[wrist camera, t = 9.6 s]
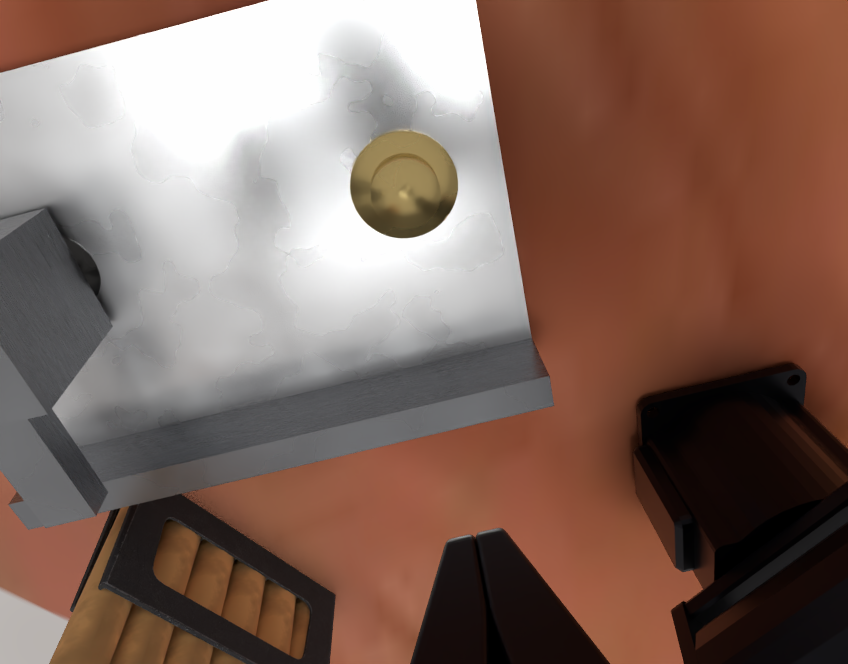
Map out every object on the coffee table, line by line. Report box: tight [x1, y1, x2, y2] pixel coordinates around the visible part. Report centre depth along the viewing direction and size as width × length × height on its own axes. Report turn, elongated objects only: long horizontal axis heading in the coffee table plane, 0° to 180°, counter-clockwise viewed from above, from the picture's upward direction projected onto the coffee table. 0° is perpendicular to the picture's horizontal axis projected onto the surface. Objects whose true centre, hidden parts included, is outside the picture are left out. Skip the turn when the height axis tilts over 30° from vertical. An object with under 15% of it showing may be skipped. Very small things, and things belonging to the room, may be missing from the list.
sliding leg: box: [0, 208, 113, 528], centre depth 17 cm, size 4×8×5 cm, turn 13°
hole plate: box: [0, 0, 554, 530], centre depth 18 cm, size 18×13×3 cm
